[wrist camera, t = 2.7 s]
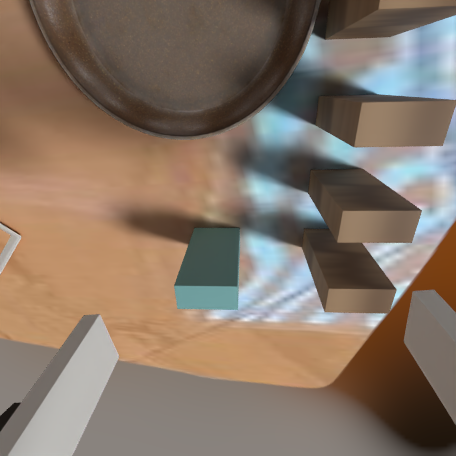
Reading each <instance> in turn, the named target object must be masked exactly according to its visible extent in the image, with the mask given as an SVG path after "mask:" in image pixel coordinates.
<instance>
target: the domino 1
mask: <svg viewBox="0 0 456 456" xmlns="http://www.w3.org/2000/svg"><path fill="white" fill-rule="evenodd" d="M239 255H240V228H194V231H193V234H192V236H191V239H190V242H189V245H188V248H187V251H186V254H185V256H184V259H183V262H182V265H181V268H180V271H179V274H178V276H177V279H176V282H175V285H174V288H175V295H176V301H177V308H178V309H222V310H238V289H239Z"/></svg>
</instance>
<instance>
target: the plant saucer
mask: <svg viewBox="0 0 456 456" xmlns="http://www.w3.org/2000/svg"><path fill="white" fill-rule="evenodd" d="M29 1H30V4H31V7H32V10H33V12H34V15H35V17H36V20H37V22H38V25H39V27H40V29H41V31H42V34H43V36H44V37H45V39H46V41H47V43H48V45H49V47H50V49H51V50H52V52H53V54H54V55H55V57H56V59H57V60H58V62H59V63H60V65H61V66H62V68H63V69H64V70H65V72H66V73H67V74H68V76H69V77H70V78H71V79H72V81H73V82H74V83H75V84H76V85H77V87H78V88H79V89H80V90H81V91H82V92H83V93H84V94H85V95H86V96H87V97H88V98H89V99H90V100H91V101H92V102H94V103H95V104H96V105H97V106H98V107H99V108H101V109H102V110H103V111H105V112H106V113H107V114H109V115H110V116H112V117H113V118H115V119H116V120H118V121H120V122H122V123H123V124H125V125H127V126H129V127H131V128H133V129H135V130H138V131H141V132H143V133H146V134H149V135H152V136H156V137H161V138H167V139H177V140H191V139H201V138H206V137H210V136H215V135H218V134H221V133H224V132H226V131H229V130H231V129H233V128H235V127H237V126H239V125H241V124H242V123H244V122H246V121H247V120H249V119H250V118H251V117H253V116H254V115H255V114H257V113H258V112H259V111H261V110H262V109H263V108H264V107H265V106H266V105H267V104H268V103H269V102H270V101H271V100H272V99H273V98H274V97H275V96H276V95H277V93H278V92H279V91H280V90H281V89H282V87H283V86H284V85H285V83H286V82H287V81H288V79H289V78H290V76H291V74H292V73H293V71H294V70H295V68H296V66H297V64H298V62H299V61H300V59H301V57H302V55H303V53H304V51H305V48H306V46H307V44H308V41H309V38H310V36H311V33H312V30H313V27H314V24H315V21H316V17H317V14H318V10H319V5H320V1H321V0H29Z"/></svg>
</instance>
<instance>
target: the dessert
mask: <svg viewBox="0 0 456 456" xmlns="http://www.w3.org/2000/svg"><path fill="white" fill-rule="evenodd" d="M0 229H2V230H3V231H5V232H7V233H8V234H10V235H11V237H10V239H9V240H8V242H7V244H6V246H5V248H4V249H3V251H2V253H1V255H0V274H1V272H2V271H3V269H4V267H5V265H6V264H7V262H8V260H9V258H10V257H11V255H12V253H13V251H14V250H15V248H16V246H17V244H18V243H19V241H20V239H21V236H20V235H19V234H17V233H15V232H14V231H12V230H10V229H9V228H7V227H5V226H4V225H2V224H1V223H0Z"/></svg>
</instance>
